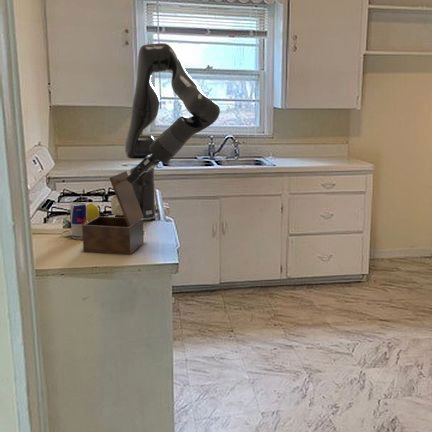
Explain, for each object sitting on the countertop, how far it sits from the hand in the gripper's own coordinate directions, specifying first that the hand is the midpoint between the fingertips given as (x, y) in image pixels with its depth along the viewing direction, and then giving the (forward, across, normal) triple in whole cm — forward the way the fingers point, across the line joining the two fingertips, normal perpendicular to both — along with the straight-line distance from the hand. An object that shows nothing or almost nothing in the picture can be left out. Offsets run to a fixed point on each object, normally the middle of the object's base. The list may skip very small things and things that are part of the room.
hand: (133, 179), depth 184 cm
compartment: (+22, 0, +11) cm, 25 cm away
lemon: (+36, -28, -3) cm, 46 cm away
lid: (+7, 0, +3) cm, 7 cm away
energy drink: (+33, -9, 0) cm, 34 cm away
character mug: (+26, -20, +8) cm, 33 cm away
